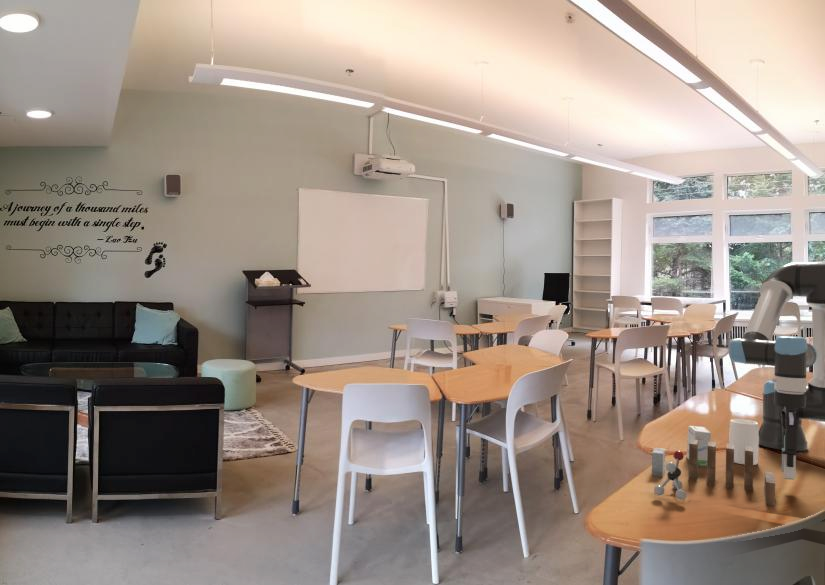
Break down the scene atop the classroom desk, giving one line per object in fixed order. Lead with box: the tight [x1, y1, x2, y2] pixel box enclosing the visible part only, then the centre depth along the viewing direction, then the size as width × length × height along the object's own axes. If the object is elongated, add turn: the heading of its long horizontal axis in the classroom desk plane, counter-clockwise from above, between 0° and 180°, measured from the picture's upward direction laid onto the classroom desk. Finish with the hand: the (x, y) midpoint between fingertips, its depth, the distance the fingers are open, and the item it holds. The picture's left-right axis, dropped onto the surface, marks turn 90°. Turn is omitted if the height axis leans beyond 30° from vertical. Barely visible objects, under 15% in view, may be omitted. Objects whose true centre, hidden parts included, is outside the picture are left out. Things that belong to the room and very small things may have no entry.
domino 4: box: [743, 446, 754, 492], centre depth 168 cm, size 2×6×11 cm, turn 151°
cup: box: [728, 418, 760, 466], centre depth 190 cm, size 8×8×14 cm
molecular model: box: [653, 450, 687, 501], centre depth 162 cm, size 8×12×11 cm
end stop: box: [651, 446, 666, 478], centre depth 179 cm, size 3×7×7 cm, turn 151°
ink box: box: [686, 425, 712, 468], centre depth 189 cm, size 9×5×12 cm, turn 168°
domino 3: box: [725, 443, 735, 489], centre depth 170 cm, size 2×6×11 cm, turn 151°
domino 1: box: [688, 439, 699, 483], centre depth 175 cm, size 2×6×11 cm, turn 151°
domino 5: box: [764, 471, 776, 507], centre depth 158 cm, size 2×6×11 cm
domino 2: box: [706, 441, 717, 486], centre depth 172 cm, size 2×6×11 cm, turn 151°
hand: (788, 474), depth 163 cm, fingers closed on teal tile, 6 cm apart
